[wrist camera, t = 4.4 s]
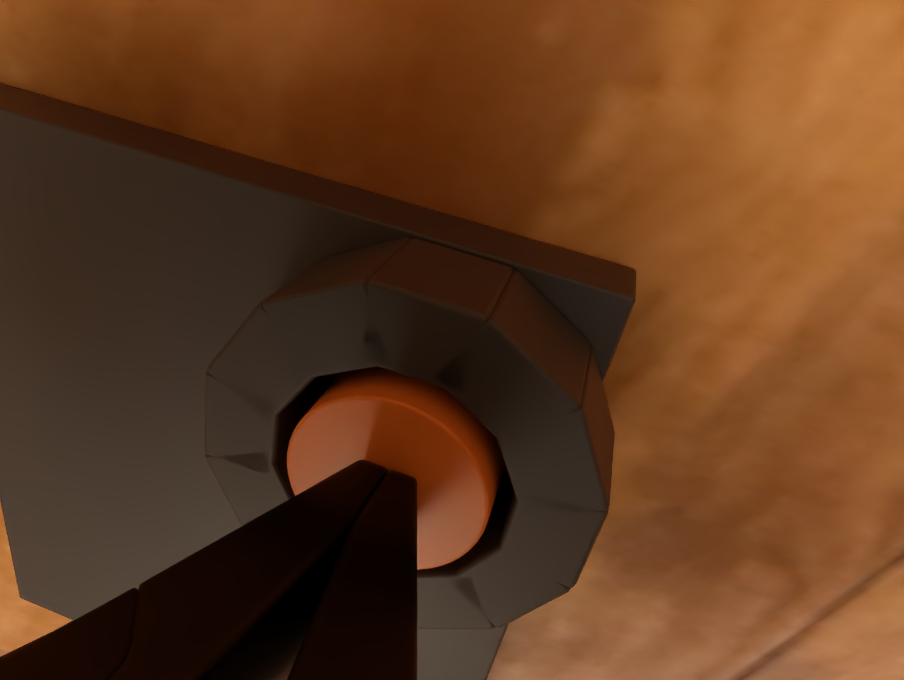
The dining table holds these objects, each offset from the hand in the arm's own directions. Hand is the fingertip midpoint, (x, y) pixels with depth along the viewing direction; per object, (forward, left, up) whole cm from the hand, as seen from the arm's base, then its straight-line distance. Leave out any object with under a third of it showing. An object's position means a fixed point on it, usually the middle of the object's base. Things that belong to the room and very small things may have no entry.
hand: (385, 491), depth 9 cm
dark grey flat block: (-4, +3, -3) cm, 6 cm away
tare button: (0, 0, -2) cm, 2 cm away
